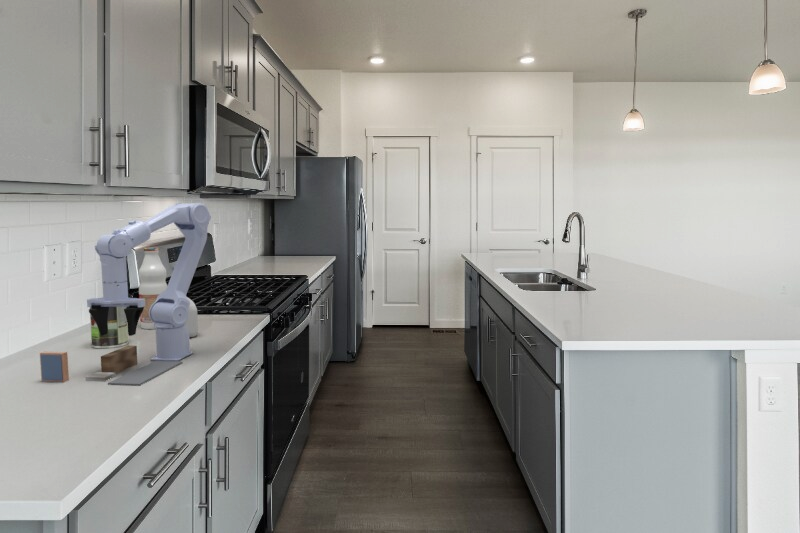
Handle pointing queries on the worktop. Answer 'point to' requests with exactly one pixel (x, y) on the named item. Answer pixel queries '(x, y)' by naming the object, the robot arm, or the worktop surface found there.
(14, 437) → the worktop surface
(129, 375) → the mat
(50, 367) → the tile
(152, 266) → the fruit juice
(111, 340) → the coffee can
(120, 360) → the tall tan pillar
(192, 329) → the soap bottle
